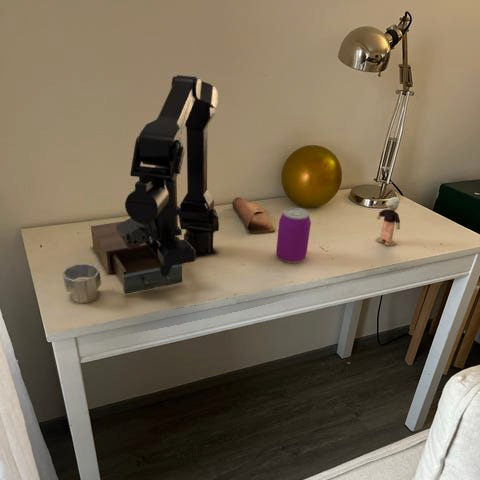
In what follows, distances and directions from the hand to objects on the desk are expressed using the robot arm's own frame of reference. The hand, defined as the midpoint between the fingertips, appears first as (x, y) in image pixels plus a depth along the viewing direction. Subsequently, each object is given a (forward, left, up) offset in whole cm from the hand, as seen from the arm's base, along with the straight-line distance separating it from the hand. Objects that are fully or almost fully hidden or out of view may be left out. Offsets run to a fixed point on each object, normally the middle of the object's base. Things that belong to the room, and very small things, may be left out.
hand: (164, 275), depth 102 cm
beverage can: (-37, -9, -8) cm, 39 cm away
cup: (+15, -11, -8) cm, 20 cm away
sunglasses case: (-39, -33, -8) cm, 52 cm away
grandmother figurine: (-66, -7, -8) cm, 67 cm away
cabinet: (0, -25, -8) cm, 27 cm away
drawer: (0, -12, -7) cm, 14 cm away
